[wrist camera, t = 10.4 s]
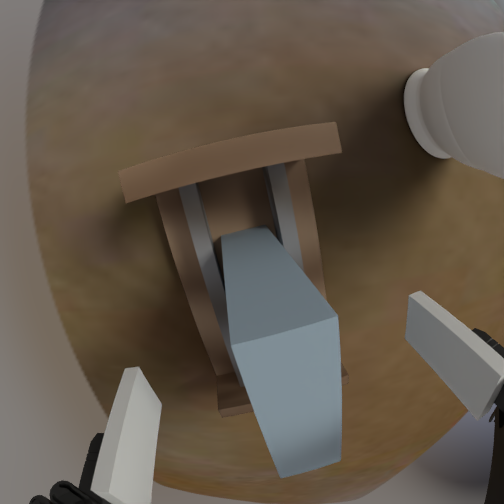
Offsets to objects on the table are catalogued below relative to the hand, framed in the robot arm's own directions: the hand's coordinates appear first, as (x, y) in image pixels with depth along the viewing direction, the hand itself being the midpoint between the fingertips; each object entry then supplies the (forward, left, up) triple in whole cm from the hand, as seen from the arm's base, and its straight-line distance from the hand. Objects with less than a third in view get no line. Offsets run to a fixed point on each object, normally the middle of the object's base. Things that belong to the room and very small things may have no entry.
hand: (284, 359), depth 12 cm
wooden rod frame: (-1, 0, -9) cm, 10 cm away
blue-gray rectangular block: (0, 0, -8) cm, 8 cm away
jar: (-11, +19, -10) cm, 24 cm away
